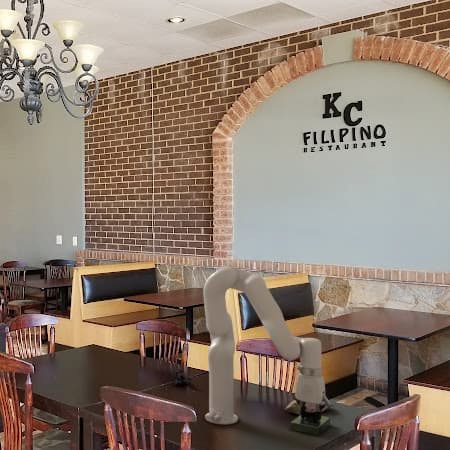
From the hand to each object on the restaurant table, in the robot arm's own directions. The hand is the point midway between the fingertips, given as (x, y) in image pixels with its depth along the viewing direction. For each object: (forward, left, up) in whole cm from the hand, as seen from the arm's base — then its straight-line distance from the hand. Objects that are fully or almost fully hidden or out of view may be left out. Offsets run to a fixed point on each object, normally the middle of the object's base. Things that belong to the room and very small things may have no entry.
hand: (310, 418), depth 233 cm
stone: (+19, +7, -4) cm, 21 cm away
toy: (+22, +69, -4) cm, 72 cm away
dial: (0, 0, 0) cm, 0 cm away
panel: (0, 0, -3) cm, 3 cm away
